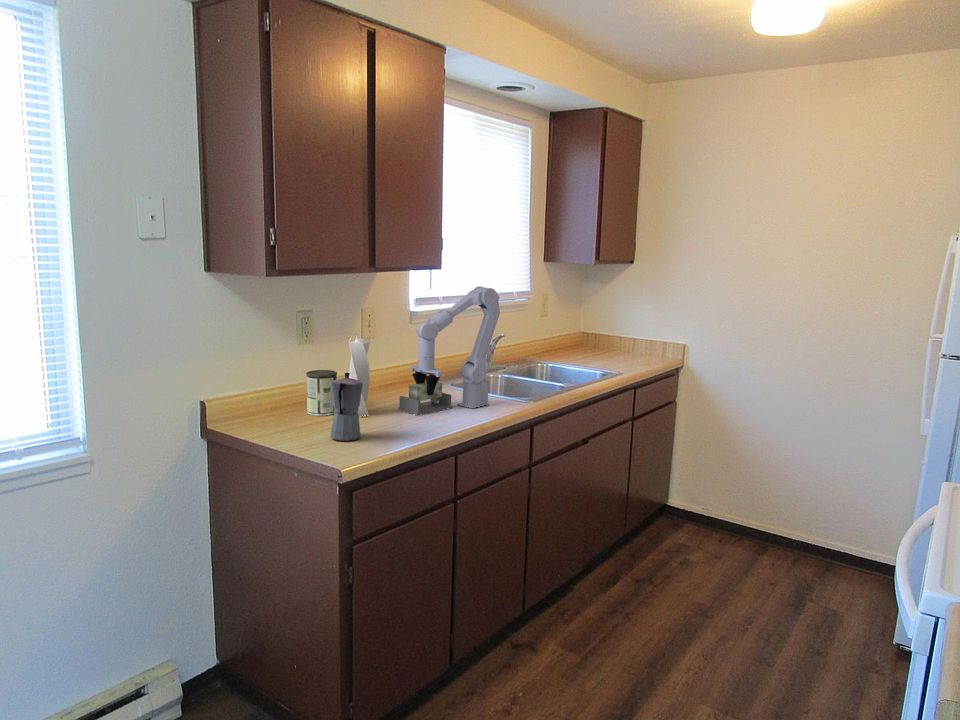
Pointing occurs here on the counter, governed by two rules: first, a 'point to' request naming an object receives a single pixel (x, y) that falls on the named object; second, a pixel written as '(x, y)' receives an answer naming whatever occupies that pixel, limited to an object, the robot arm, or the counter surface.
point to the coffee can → (320, 392)
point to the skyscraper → (360, 369)
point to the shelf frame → (424, 404)
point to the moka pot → (346, 408)
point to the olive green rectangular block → (424, 391)
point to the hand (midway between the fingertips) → (425, 393)
